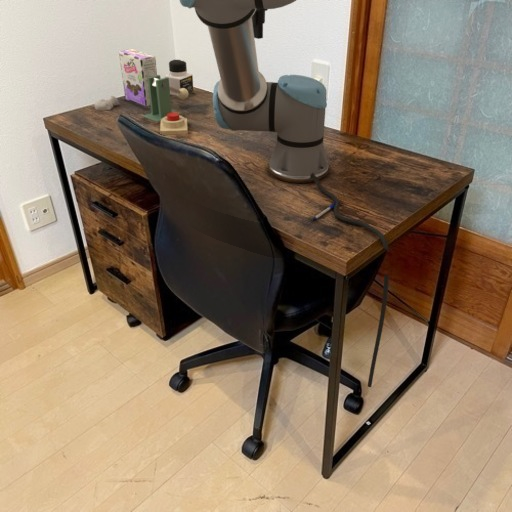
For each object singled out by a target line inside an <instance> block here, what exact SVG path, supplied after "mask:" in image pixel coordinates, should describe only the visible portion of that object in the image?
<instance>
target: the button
mask: <svg viewBox="0 0 512 512" xmlns="http://www.w3.org/2000/svg"><path fill="white" fill-rule="evenodd" d="M179 113H180V112H179ZM179 113H175V112H172V113H168V114H167V120H168V121H178V120H179V116H180V114H179Z"/></svg>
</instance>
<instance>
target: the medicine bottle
mask: <svg viewBox="0 0 512 512" xmlns="http://www.w3.org/2000/svg"><path fill="white" fill-rule="evenodd" d="M187 66H188V65H187V61H186V60H184V59H179V58H178V59H172V60H169V62H168V68H169V74H166V75H164V78H165V77H168V78H169V86H170V87H172V88H175V89H177V90H179V89H181V88H185V89H187V91H188V93H189V94H191V93H194V77H193V74H191V73H188V69H187ZM170 96H177V97H178V93H176V92H173V91H171V90H170Z"/></svg>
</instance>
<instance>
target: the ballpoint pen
mask: <svg viewBox="0 0 512 512" xmlns="http://www.w3.org/2000/svg"><path fill="white" fill-rule="evenodd" d="M335 203H336V202H335V201H334V202H333V203H331V205H329V206H328V207H326V209H324V210H322V211H321V212H319V213H318V214H316V215H315V216H314V217H313V218H312V221H315V220H317V219H319V218H320V217H322V216H323V215H324V214H326V213H327V212H329V211H331V210H333V209H334V207H335ZM340 203H341V202H340V201H339V204H340Z"/></svg>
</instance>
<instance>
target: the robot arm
mask: <svg viewBox="0 0 512 512" xmlns="http://www.w3.org/2000/svg"><path fill="white" fill-rule="evenodd" d="M296 1H297V0H179V3H180V5H181V6H182V7H184V8H188V9H192V8H194V12H195V14H196V17H197V18H198V20H199V21H200V22H201V23H202V24H204V25H205V26H206V27H207V29H208V33H209V38H210V41H211V45H212V50H213V53H214V57H215V61H216V62H215V63H216V66H217V69H218V73H219V77H220V79H219V80H218V81H216V83H215V85H214V86H213V92H212V108H213V114H214V118H215V121H216V123H217V126H219V127H220V128H221V129H224V130H231V131H233V132H235V131H246V132H271V133H276V143H275V146H274V148H273V151H272V154H271V157H270V160H269V163H268V166H269V167H268V170H269V173H270V175H271V176H273V177H274V178H276V179H277V180H280V181H284V182H286V183H294V184H308V183H313V182H314V183H315V185H316V186H317V188H318V189H319V191H321V192H322V193H323V194H324V195H325V196H327V197H328V198H330V199H332V200H333V201H334V203H335V202H336V203H335V207H334V208H333V214H334V216H335V217H336V218H337V219H339V220H340V221H342V222H345V223H348V224H351V225H356V226H359V227H362V228H364V229H366V230H368V231H370V232H372V233H373V234H376V236H377V237H378V238H379V239H380V242H381V244H382V246H383V249H384V250H386V251H388V250H390V247H389V244H388V241H387V239H386V237H385V235H384V234H383V233H382V232H381V231H380V230H379V229H377V228H376V227H373V226H372V225H369V224H368V223H366V222H364V221H361V220H356V219H353V218H349V217H345V216H344V215H341V214H340V213H339V208H340V203H339V202H340V200H339V198H337V196H336V195H334V193H331V191H329V190H327V189H326V188H325V187H324V186H323V185H322V183H321V180H322V179H324V178H325V177H327V176H328V173H329V161H328V157H327V153H326V149H325V145H324V135H325V124H326V123H325V122H326V109H327V107H328V103H327V93H328V92H327V88H326V86H325V85H324V84H323V83H322V82H321V81H319V80H318V79H315V78H313V77H310V76H306V75H300V74H284V75H281V76H279V78H278V80H277V82H273V81H267V80H266V78H265V76H264V75H263V74H262V72H261V71H259V64H258V57H257V49H256V41H255V39H258V40H260V39H263V38H264V24H266V23H265V22H266V12H267V11H268V10H275V9H279V8H283V7H286V6H288V5H291V4H293V3H294V2H296ZM389 279H390V274H384V275H383V289H382V292H383V293H382V301H381V307H380V315H379V321H378V326H377V332H376V336H375V337H376V338H375V343H374V348H373V353H372V358H371V364H370V367H369V368H370V369H369V375H368V379H367V380H368V381H367V387H368V388H372V386H373V379H374V375H375V369H376V364H377V358H378V353H379V348H380V343H381V339H382V333H383V328H384V323H385V316H386V309H387V302H388V295H389V284H390V283H389V281H390V280H389Z"/></svg>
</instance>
